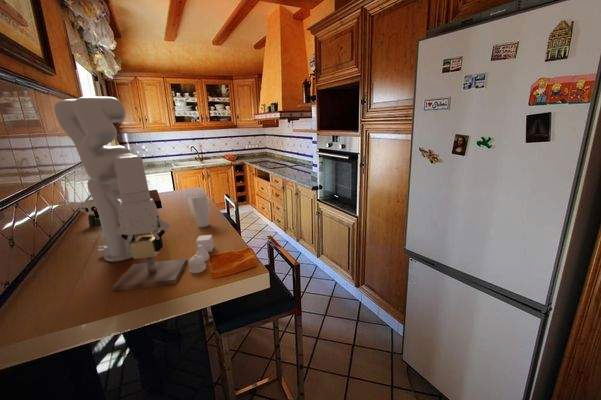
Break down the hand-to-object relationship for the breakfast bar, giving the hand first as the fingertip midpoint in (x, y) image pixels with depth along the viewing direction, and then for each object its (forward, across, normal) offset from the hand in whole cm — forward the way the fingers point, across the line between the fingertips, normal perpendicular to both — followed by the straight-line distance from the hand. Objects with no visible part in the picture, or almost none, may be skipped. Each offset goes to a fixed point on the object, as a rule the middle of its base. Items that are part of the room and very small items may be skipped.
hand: (147, 250), depth 90 cm
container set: (+9, +14, +9) cm, 19 cm away
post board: (+9, 0, 0) cm, 9 cm away
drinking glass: (+9, +7, +45) cm, 46 cm away
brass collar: (+1, 0, 0) cm, 1 cm away
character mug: (+9, -51, +63) cm, 82 cm away
